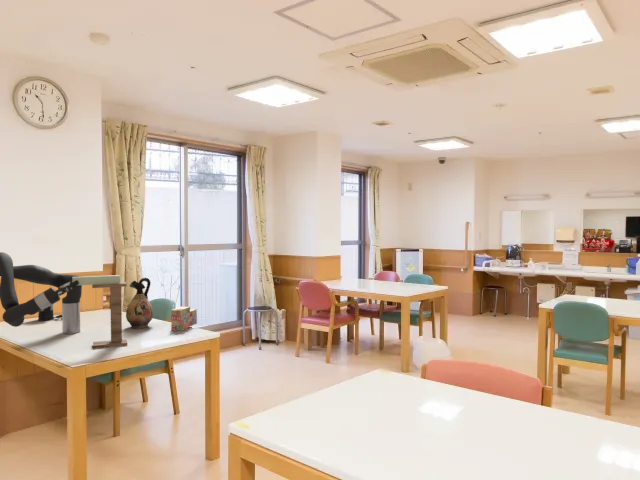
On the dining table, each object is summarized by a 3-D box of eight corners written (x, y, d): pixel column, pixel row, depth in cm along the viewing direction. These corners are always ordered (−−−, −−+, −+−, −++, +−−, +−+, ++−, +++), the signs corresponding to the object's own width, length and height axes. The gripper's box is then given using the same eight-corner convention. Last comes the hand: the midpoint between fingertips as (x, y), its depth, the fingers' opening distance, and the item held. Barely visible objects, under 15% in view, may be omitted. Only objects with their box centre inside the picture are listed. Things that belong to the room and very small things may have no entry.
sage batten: (72, 284, 250) (72, 276, 250) (119, 282, 259) (119, 275, 259) (72, 285, 247) (72, 277, 247) (120, 283, 257) (119, 275, 256)
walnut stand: (93, 344, 258) (92, 283, 257) (126, 341, 264) (125, 281, 263) (93, 348, 249) (92, 285, 248) (127, 345, 256) (126, 283, 255)
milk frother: (35, 319, 324) (34, 297, 323) (59, 316, 336) (59, 294, 336) (46, 322, 315) (45, 299, 315) (70, 318, 328) (70, 296, 328)
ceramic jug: (131, 330, 291) (131, 279, 290) (122, 326, 303) (121, 277, 302) (159, 326, 302) (159, 277, 301) (149, 323, 314) (149, 275, 313)
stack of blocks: (187, 323, 314) (187, 303, 313) (197, 323, 313) (196, 304, 312) (171, 330, 293) (170, 309, 292) (180, 330, 292) (180, 310, 291)
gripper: (41, 294, 237) (74, 275, 242) (43, 290, 250) (74, 273, 255) (50, 307, 239) (82, 288, 244) (52, 302, 251) (83, 285, 257)
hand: (78, 280), depth 250 cm, fingers open, 8 cm apart
